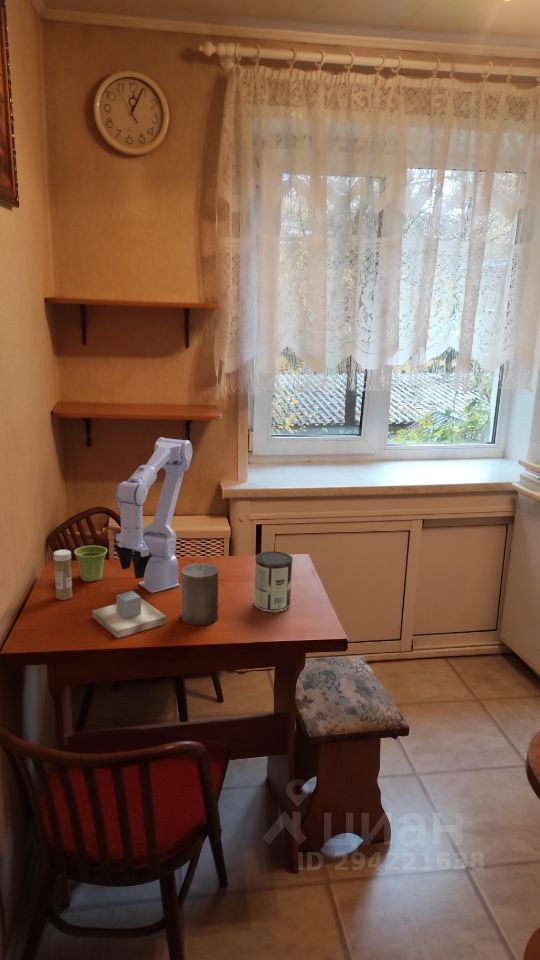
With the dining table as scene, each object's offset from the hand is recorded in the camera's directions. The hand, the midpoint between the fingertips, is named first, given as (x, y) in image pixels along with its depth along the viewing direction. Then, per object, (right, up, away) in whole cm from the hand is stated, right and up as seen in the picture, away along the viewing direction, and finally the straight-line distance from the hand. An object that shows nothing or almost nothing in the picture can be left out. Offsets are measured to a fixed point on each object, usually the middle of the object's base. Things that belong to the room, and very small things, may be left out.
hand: (132, 573), depth 185 cm
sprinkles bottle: (-20, -8, +5) cm, 22 cm away
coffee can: (+38, -10, +6) cm, 40 cm away
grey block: (0, -10, -7) cm, 12 cm away
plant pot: (-16, -4, +19) cm, 25 cm away
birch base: (0, -11, -7) cm, 13 cm away
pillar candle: (+19, -12, -3) cm, 22 cm away
